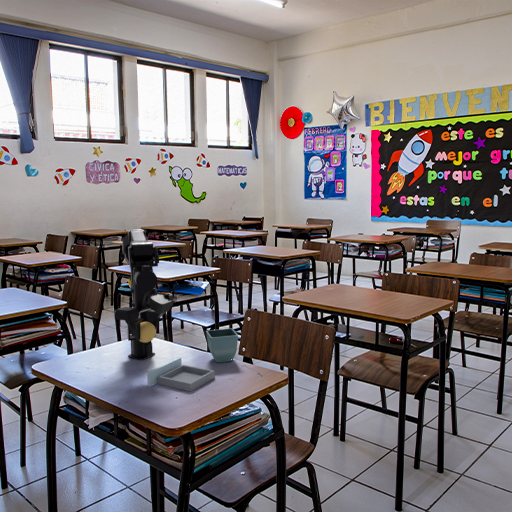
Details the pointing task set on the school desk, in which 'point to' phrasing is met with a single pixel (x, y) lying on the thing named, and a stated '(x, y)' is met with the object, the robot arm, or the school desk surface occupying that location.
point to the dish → (186, 377)
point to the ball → (147, 332)
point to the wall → (162, 370)
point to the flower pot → (222, 344)
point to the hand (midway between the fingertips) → (145, 337)
